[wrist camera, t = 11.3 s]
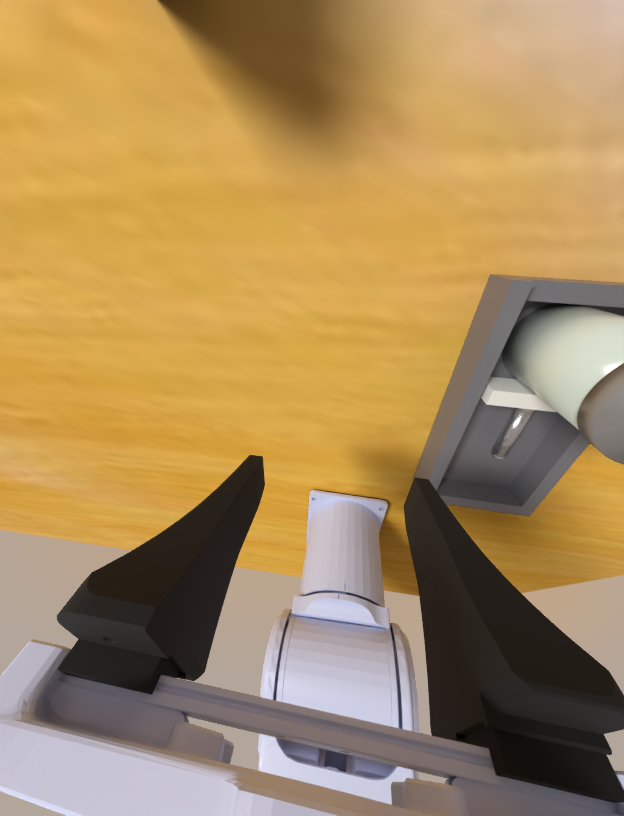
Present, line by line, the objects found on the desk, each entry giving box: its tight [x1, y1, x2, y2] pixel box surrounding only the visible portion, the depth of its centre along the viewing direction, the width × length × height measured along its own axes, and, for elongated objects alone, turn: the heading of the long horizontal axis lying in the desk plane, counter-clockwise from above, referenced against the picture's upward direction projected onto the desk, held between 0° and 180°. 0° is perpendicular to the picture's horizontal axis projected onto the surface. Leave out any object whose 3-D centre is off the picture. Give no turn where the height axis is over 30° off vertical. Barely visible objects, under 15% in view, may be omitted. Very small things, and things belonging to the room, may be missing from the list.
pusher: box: [481, 377, 557, 460], centre depth 18 cm, size 6×6×2 cm
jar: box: [501, 303, 624, 464], centre depth 13 cm, size 5×5×8 cm
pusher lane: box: [413, 274, 624, 516], centre depth 18 cm, size 17×9×3 cm, turn 177°
